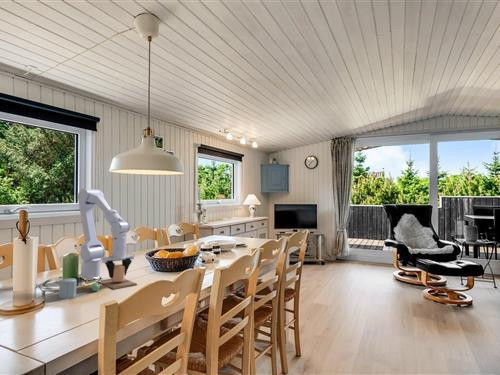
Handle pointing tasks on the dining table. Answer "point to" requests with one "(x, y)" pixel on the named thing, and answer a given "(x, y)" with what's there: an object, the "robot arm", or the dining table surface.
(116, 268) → the terracotta cup
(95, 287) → the green ball
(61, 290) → the slate blue cup
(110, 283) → the walnut board
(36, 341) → the dining table surface
